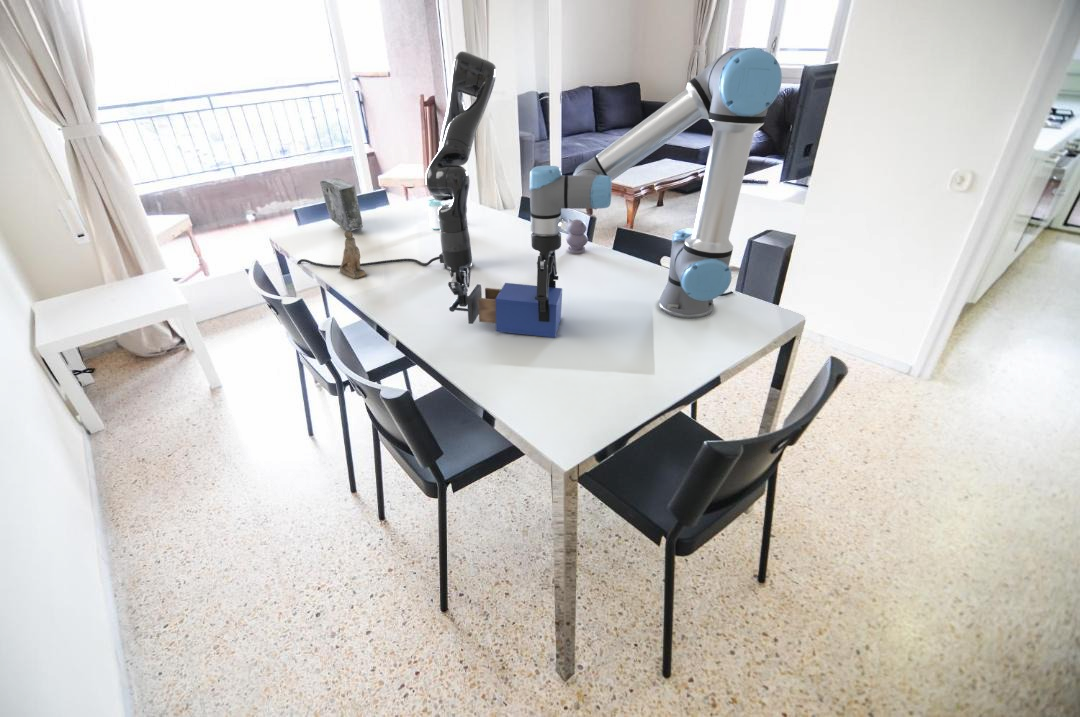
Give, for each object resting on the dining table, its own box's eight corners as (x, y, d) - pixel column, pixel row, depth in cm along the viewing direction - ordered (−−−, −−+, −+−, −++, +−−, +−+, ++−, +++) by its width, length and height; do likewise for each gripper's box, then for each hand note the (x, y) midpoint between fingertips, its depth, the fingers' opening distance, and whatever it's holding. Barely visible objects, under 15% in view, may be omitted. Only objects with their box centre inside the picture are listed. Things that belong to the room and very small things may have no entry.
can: (445, 229, 220) (441, 202, 214) (429, 230, 220) (425, 202, 214) (447, 224, 226) (444, 198, 220) (432, 225, 226) (428, 198, 220)
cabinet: (496, 331, 135) (495, 298, 130) (505, 313, 144) (505, 282, 139) (555, 337, 133) (556, 304, 128) (560, 319, 142) (562, 288, 137)
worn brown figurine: (368, 281, 178) (362, 235, 166) (353, 285, 175) (347, 238, 163) (352, 266, 184) (346, 221, 172) (338, 270, 181) (331, 224, 169)
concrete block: (368, 232, 220) (358, 186, 209) (348, 237, 216) (336, 189, 205) (349, 220, 239) (338, 176, 228) (330, 223, 234) (319, 179, 224)
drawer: (449, 321, 137) (447, 296, 133) (460, 306, 145) (458, 282, 141) (521, 329, 135) (521, 303, 130) (528, 313, 142) (528, 289, 138)
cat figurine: (592, 250, 190) (592, 219, 184) (579, 256, 185) (579, 224, 179) (574, 246, 195) (575, 215, 189) (561, 251, 191) (561, 220, 184)
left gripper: (461, 255, 124) (469, 316, 133) (477, 237, 135) (483, 296, 144) (433, 254, 125) (443, 315, 134) (450, 237, 136) (458, 294, 145)
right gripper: (553, 248, 114) (554, 332, 125) (567, 219, 133) (566, 294, 145) (521, 247, 115) (525, 330, 126) (539, 218, 134) (541, 293, 146)
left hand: (463, 305), depth 139 cm, fingers closed
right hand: (547, 311), depth 136 cm, fingers closed on cabinet, 11 cm apart
